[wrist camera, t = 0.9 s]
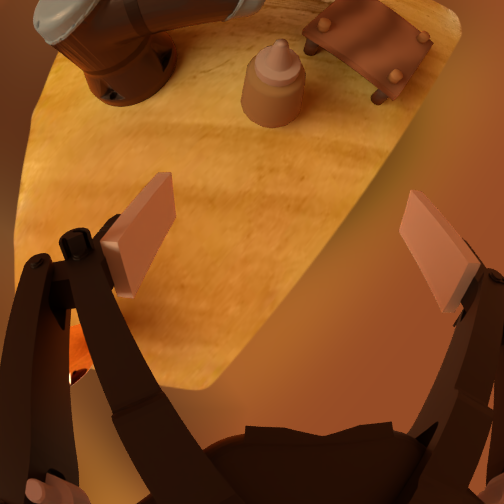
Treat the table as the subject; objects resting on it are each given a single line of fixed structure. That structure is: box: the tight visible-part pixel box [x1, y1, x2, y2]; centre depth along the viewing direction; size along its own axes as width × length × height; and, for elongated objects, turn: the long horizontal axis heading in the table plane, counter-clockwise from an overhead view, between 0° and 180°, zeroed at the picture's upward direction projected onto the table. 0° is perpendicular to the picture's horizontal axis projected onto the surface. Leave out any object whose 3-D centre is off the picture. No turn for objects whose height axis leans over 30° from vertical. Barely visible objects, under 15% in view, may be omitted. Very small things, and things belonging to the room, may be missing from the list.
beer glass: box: [69, 324, 93, 387], centre depth 35 cm, size 7×7×15 cm
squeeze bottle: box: [241, 39, 306, 128], centre depth 30 cm, size 8×8×18 cm
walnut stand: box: [302, 0, 433, 105], centre depth 34 cm, size 16×16×8 cm
